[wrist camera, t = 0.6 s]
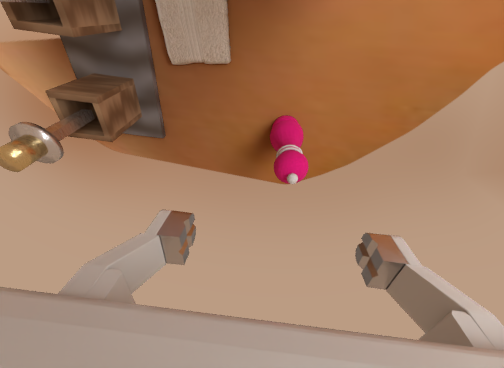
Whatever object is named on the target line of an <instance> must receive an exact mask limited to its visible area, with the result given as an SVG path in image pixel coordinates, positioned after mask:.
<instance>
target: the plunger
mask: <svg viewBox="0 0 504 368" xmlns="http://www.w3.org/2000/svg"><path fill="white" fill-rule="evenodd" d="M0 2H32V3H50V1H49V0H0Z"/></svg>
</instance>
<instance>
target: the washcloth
mask: <svg viewBox="0 0 504 368" xmlns="http://www.w3.org/2000/svg"><path fill="white" fill-rule="evenodd" d="M155 2H156V6H157V10H158V16H159V21H160V24H161V28H162V30H163V34H164V39H165V43H166V48H167V52H168V55H169V58H170V60H171V63H172V64H173V65H175V64H176V65H182V64H183V65H185V64H190V63H198V62H200V63H202V62H204V63H205V64H220V63H222V64H228V63H230V61H231V57H230V55H231V54H230V48H231V47H230V45H229V42H230V40H229V28H228V26H229V25H228V8H227V6H228V5H227V0H155Z"/></svg>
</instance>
